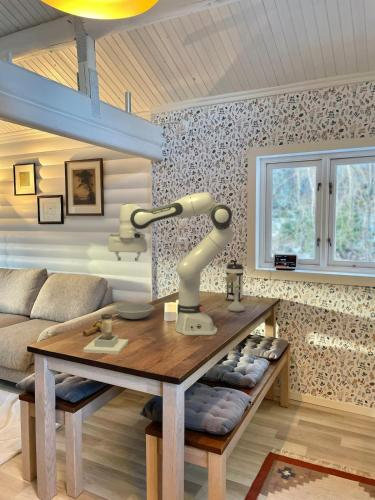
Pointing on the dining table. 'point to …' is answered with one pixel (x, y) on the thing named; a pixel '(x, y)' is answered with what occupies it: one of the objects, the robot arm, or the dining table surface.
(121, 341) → the holder
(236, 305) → the flower in vase
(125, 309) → the soup bowl
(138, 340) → the dining table surface
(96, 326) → the kendama
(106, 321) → the peg
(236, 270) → the coffee press
